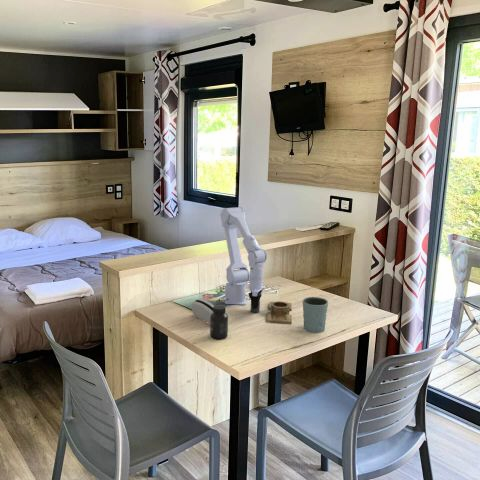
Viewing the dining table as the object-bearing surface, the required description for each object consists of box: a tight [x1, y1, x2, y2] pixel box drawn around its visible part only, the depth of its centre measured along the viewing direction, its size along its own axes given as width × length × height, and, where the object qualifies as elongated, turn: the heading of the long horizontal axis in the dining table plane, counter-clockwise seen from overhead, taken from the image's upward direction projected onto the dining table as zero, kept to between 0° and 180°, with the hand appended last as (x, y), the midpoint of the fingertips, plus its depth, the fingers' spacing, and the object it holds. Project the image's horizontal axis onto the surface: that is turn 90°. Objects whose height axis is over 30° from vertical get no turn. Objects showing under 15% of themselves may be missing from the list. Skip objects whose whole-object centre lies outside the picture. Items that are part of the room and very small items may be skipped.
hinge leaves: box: [267, 300, 293, 324], centre depth 215 cm, size 10×23×4 cm, turn 174°
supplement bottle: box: [209, 304, 229, 341], centre depth 188 cm, size 7×7×12 cm
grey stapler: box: [190, 298, 215, 325], centre depth 204 cm, size 17×5×10 cm, turn 40°
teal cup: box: [302, 296, 329, 334], centre depth 198 cm, size 10×10×12 cm
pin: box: [250, 291, 262, 313], centre depth 216 cm, size 5×5×8 cm
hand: (255, 306), depth 216 cm, fingers closed on pin, 5 cm apart
